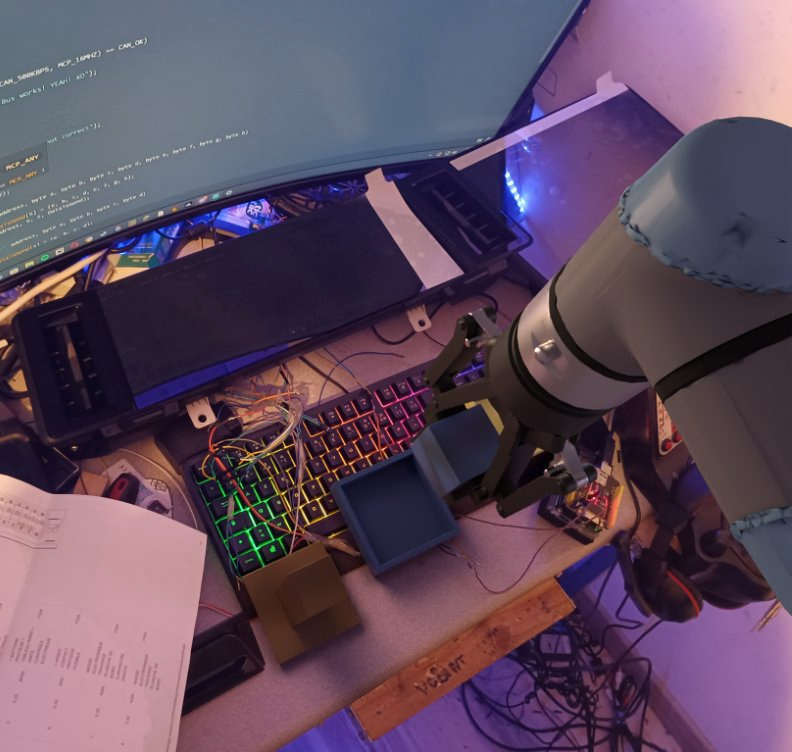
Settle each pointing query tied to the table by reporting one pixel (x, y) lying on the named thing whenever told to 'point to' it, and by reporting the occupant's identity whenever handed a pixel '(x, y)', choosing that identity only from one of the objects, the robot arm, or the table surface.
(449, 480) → the blue block
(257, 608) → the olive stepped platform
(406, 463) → the navy tray
